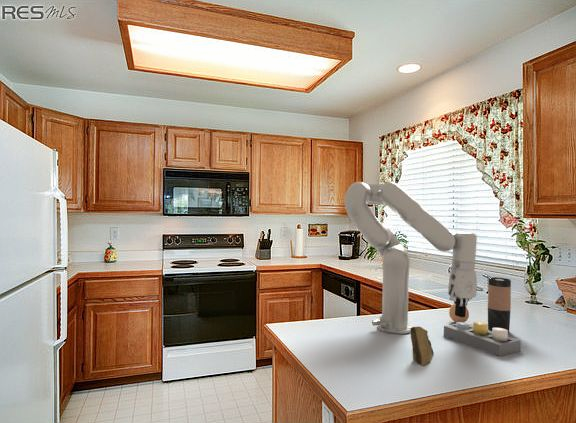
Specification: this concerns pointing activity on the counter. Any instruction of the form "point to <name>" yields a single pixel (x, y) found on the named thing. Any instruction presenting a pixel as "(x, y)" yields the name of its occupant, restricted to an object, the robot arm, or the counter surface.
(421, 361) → the rock
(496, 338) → the ivory button
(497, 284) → the travel mug
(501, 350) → the button console
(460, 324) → the slate button
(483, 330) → the mustard button
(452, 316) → the egg
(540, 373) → the counter surface
